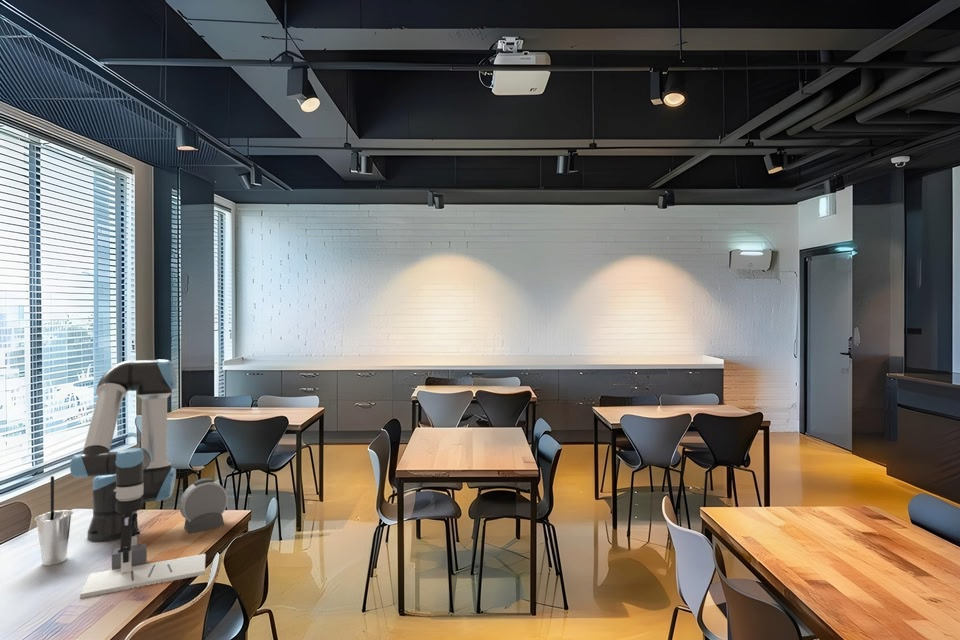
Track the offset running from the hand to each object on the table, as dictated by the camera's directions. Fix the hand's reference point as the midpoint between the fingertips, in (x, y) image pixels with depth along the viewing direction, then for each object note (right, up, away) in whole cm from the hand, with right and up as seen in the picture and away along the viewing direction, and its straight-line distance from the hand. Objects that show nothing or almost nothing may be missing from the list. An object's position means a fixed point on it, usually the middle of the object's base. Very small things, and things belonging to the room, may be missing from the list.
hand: (129, 563), depth 175 cm
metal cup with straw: (-28, -2, +5) cm, 28 cm away
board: (+10, -1, -6) cm, 11 cm away
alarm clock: (+6, -1, +35) cm, 35 cm away
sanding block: (0, -1, 0) cm, 1 cm away
